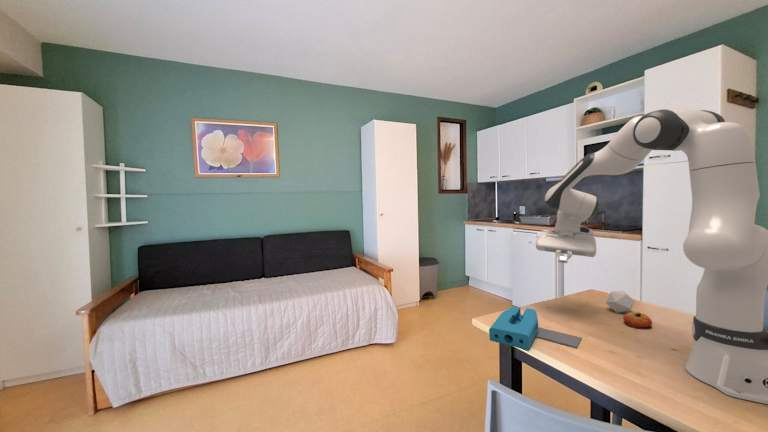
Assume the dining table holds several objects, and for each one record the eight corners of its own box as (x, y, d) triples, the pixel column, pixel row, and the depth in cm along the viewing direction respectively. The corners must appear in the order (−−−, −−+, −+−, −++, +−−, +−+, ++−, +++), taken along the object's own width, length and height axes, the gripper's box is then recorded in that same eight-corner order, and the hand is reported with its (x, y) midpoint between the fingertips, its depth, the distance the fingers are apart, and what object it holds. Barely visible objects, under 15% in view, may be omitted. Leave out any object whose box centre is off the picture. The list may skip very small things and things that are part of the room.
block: (507, 317, 115) (489, 341, 100) (506, 305, 115) (488, 327, 99) (542, 323, 108) (529, 351, 92) (541, 310, 107) (528, 335, 92)
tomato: (618, 321, 109) (626, 304, 111) (620, 328, 113) (627, 312, 115) (647, 331, 103) (654, 313, 104) (648, 339, 106) (655, 321, 108)
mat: (581, 339, 99) (581, 337, 99) (576, 348, 93) (576, 346, 93) (517, 323, 112) (517, 322, 112) (510, 330, 106) (510, 329, 106)
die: (635, 318, 116) (642, 296, 118) (613, 306, 117) (620, 284, 120) (619, 318, 123) (626, 297, 126) (599, 307, 125) (606, 286, 127)
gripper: (537, 225, 125) (531, 253, 119) (598, 230, 114) (595, 261, 107) (538, 234, 130) (533, 261, 123) (597, 239, 118) (594, 270, 111)
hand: (562, 261), depth 115 cm, fingers closed
